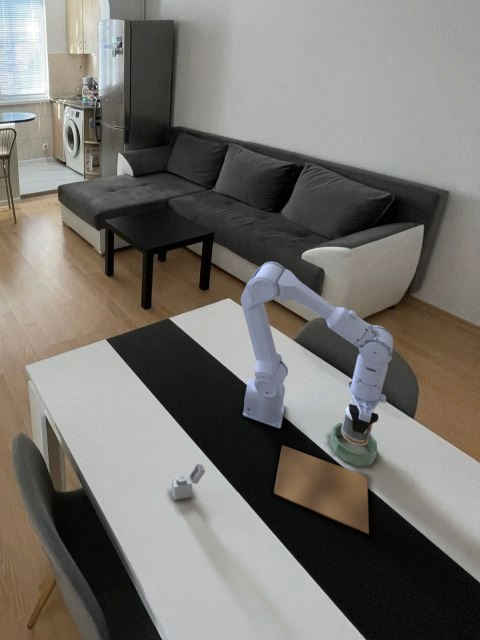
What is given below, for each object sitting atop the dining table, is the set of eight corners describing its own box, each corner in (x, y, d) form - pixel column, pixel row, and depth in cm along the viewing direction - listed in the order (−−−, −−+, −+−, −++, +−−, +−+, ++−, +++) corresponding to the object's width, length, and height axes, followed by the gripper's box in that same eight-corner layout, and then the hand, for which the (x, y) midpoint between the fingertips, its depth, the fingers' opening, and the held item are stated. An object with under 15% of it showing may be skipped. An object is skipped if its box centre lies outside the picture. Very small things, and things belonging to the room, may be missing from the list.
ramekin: (329, 455, 104) (332, 445, 103) (331, 427, 111) (333, 417, 110) (374, 472, 100) (377, 461, 98) (373, 442, 107) (376, 431, 105)
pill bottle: (372, 448, 101) (380, 416, 97) (345, 445, 102) (352, 413, 98) (362, 428, 106) (370, 397, 102) (337, 425, 107) (343, 395, 103)
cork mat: (273, 494, 96) (273, 492, 96) (281, 446, 107) (282, 444, 107) (368, 534, 87) (368, 533, 87) (366, 477, 98) (367, 476, 98)
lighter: (174, 500, 96) (174, 475, 93) (171, 492, 98) (172, 468, 95) (203, 494, 97) (205, 469, 94) (200, 487, 99) (202, 462, 96)
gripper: (392, 405, 89) (379, 452, 94) (388, 362, 101) (376, 406, 106) (352, 394, 93) (342, 439, 98) (353, 353, 104) (343, 396, 109)
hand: (357, 421), depth 102 cm, fingers closed on pill bottle, 6 cm apart
